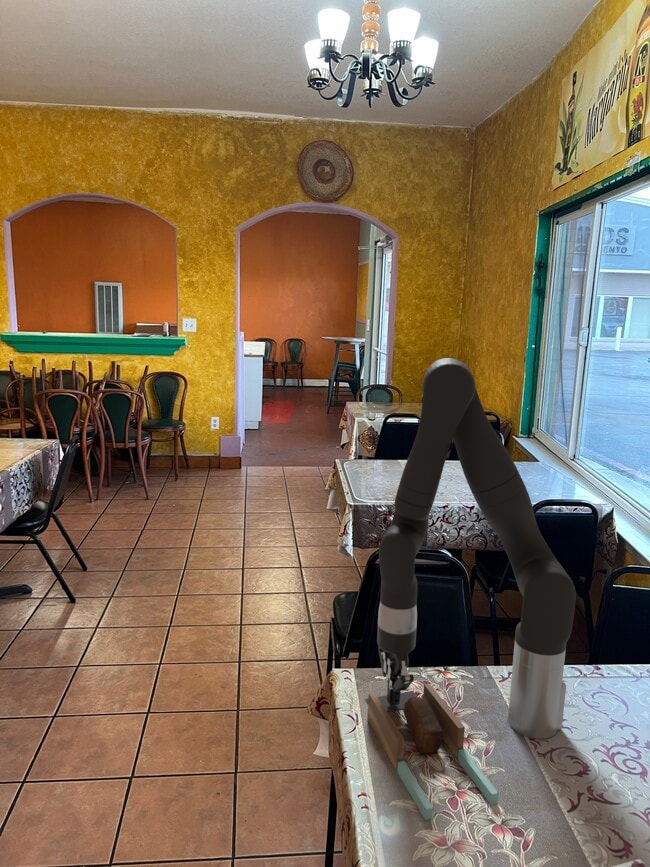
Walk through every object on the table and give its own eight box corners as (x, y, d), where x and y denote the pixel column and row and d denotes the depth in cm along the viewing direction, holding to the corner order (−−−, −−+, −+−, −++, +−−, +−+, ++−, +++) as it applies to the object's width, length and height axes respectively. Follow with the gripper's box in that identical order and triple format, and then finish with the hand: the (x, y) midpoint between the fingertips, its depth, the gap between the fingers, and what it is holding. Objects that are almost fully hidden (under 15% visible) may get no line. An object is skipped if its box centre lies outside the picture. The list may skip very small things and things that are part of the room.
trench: (427, 710, 128) (429, 683, 127) (462, 756, 115) (464, 727, 114) (367, 721, 124) (368, 693, 123) (396, 770, 111) (397, 739, 110)
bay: (463, 758, 115) (464, 748, 114) (497, 803, 104) (498, 793, 104) (397, 772, 111) (397, 762, 110) (425, 820, 100) (426, 809, 100)
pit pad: (409, 692, 134) (409, 691, 134) (420, 706, 129) (420, 705, 129) (364, 700, 131) (364, 698, 131) (373, 714, 126) (373, 713, 126)
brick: (440, 754, 115) (444, 731, 114) (419, 754, 115) (423, 732, 114) (421, 714, 126) (425, 693, 124) (402, 715, 125) (405, 694, 124)
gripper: (429, 637, 120) (424, 720, 124) (401, 606, 133) (397, 682, 136) (392, 642, 118) (388, 726, 121) (367, 610, 131) (364, 687, 134)
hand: (393, 702), depth 129 cm, fingers closed
